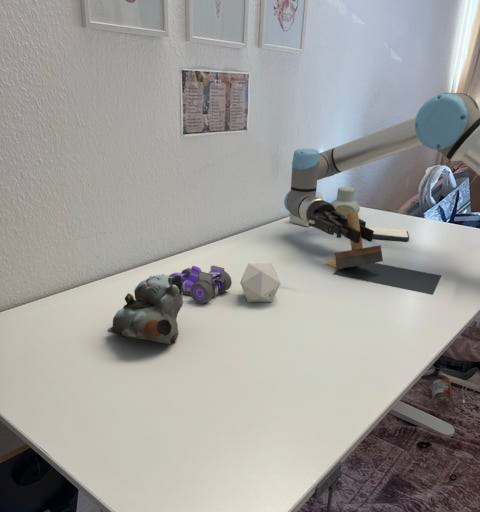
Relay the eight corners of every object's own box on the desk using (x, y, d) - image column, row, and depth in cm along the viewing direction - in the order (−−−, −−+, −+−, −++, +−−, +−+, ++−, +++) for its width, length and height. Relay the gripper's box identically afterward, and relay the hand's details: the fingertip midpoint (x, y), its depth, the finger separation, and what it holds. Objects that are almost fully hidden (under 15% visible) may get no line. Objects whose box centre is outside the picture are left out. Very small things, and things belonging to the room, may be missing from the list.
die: (266, 314, 102) (292, 274, 102) (231, 292, 102) (256, 252, 101) (263, 310, 111) (286, 274, 110) (230, 290, 110) (253, 253, 109)
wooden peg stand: (382, 261, 119) (375, 208, 117) (365, 264, 114) (357, 210, 113) (353, 265, 126) (346, 215, 124) (336, 268, 122) (328, 217, 120)
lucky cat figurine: (100, 329, 93) (118, 260, 93) (158, 340, 99) (174, 275, 99) (120, 342, 80) (140, 262, 80) (185, 355, 86) (204, 280, 86)
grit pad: (352, 265, 126) (352, 263, 125) (340, 269, 123) (340, 267, 122) (337, 259, 129) (337, 257, 129) (325, 263, 126) (325, 261, 126)
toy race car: (181, 277, 118) (180, 252, 115) (231, 292, 111) (232, 265, 108) (155, 290, 111) (153, 264, 108) (207, 306, 104) (207, 278, 101)
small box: (320, 222, 165) (321, 208, 163) (306, 227, 160) (308, 211, 158) (302, 218, 170) (303, 203, 167) (288, 222, 165) (289, 207, 162)
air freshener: (357, 214, 176) (361, 187, 171) (358, 220, 169) (362, 191, 164) (327, 212, 178) (330, 185, 173) (327, 218, 170) (330, 190, 166)
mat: (440, 279, 121) (441, 275, 121) (432, 298, 110) (432, 294, 110) (348, 261, 131) (349, 258, 131) (332, 277, 120) (332, 274, 120)
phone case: (406, 234, 155) (356, 229, 158) (407, 229, 155) (357, 224, 158) (408, 243, 148) (356, 237, 151) (410, 238, 147) (357, 232, 150)
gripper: (341, 223, 139) (390, 248, 120) (291, 228, 134) (334, 255, 115) (344, 197, 136) (395, 219, 116) (293, 201, 131) (337, 224, 111)
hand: (364, 236), depth 115 cm, fingers closed on wooden peg stand, 3 cm apart
